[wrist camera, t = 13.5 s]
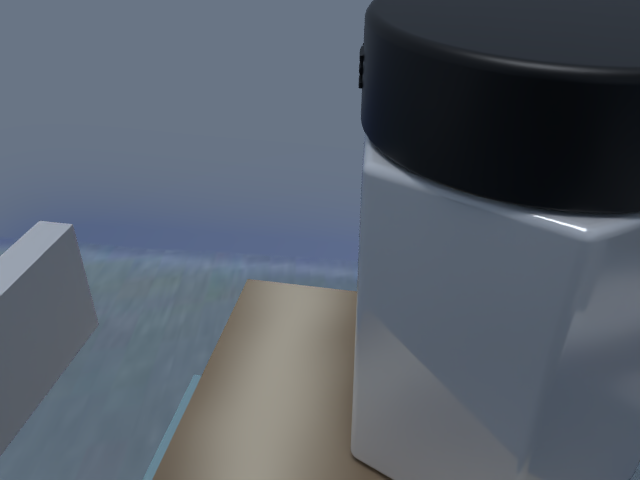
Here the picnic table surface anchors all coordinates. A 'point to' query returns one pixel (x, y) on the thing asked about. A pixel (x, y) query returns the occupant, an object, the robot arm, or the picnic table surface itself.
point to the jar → (499, 241)
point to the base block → (274, 392)
